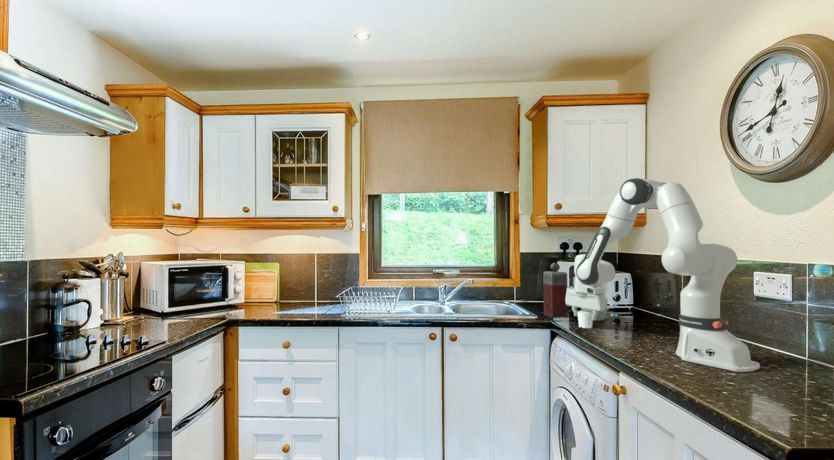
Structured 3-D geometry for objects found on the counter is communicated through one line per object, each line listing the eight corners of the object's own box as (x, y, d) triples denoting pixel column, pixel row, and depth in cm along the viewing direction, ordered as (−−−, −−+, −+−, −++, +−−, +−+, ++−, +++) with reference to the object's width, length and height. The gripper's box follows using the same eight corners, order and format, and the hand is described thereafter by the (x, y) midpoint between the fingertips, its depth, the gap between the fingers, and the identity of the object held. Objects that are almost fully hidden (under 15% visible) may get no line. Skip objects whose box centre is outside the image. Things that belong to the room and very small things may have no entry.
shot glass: (595, 328, 177) (595, 313, 177) (580, 328, 178) (580, 313, 178) (590, 325, 184) (590, 310, 184) (575, 325, 184) (575, 310, 185)
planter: (609, 318, 200) (609, 297, 200) (605, 322, 190) (604, 300, 190) (584, 316, 207) (583, 295, 207) (578, 319, 197) (578, 298, 197)
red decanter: (556, 313, 214) (556, 262, 215) (567, 317, 203) (567, 263, 204) (541, 313, 213) (541, 262, 213) (551, 317, 201) (551, 263, 202)
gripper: (562, 286, 190) (562, 314, 189) (598, 290, 171) (598, 322, 171) (571, 285, 192) (571, 313, 192) (608, 290, 174) (608, 321, 174)
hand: (584, 317), depth 181 cm, fingers open, 8 cm apart
